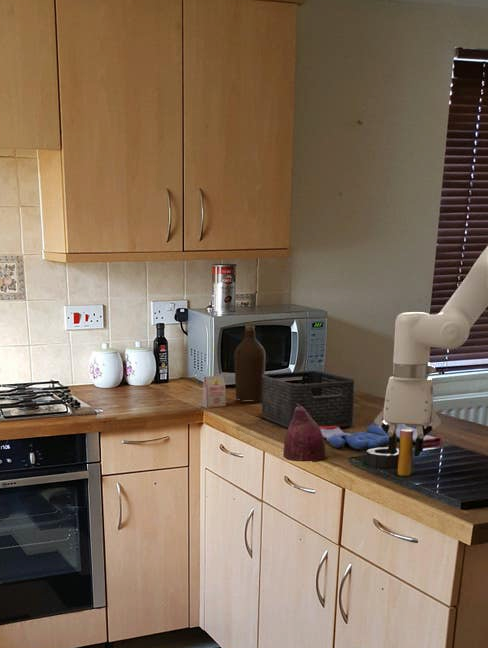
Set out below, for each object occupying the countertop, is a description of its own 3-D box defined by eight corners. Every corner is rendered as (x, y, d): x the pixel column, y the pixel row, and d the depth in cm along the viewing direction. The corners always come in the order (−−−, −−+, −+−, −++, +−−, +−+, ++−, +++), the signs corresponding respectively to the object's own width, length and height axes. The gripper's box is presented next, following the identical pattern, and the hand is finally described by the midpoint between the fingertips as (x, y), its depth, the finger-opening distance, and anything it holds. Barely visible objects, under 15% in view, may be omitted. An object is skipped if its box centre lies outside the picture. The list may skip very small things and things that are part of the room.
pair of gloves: (401, 427, 249) (402, 414, 247) (459, 443, 226) (460, 429, 225) (302, 438, 238) (302, 424, 237) (352, 456, 216) (353, 441, 214)
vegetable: (302, 476, 211) (297, 419, 203) (275, 463, 219) (269, 408, 211) (335, 459, 215) (331, 403, 207) (308, 447, 223) (303, 393, 215)
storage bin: (258, 416, 271) (258, 372, 267) (316, 412, 276) (317, 369, 271) (294, 432, 245) (295, 384, 241) (357, 427, 250) (359, 380, 245)
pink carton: (202, 406, 293) (202, 376, 289) (221, 404, 294) (221, 374, 291) (206, 408, 289) (206, 377, 286) (225, 406, 291) (225, 376, 288)
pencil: (411, 473, 198) (414, 429, 194) (409, 476, 195) (412, 431, 192) (398, 472, 199) (401, 428, 195) (396, 475, 196) (399, 431, 193)
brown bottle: (260, 404, 293) (261, 327, 285) (230, 403, 297) (230, 327, 289) (268, 399, 302) (269, 324, 294) (239, 398, 306) (239, 324, 298)
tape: (407, 461, 209) (408, 448, 208) (400, 469, 202) (401, 456, 201) (370, 458, 213) (371, 446, 212) (362, 466, 205) (363, 454, 204)
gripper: (453, 370, 189) (446, 453, 195) (375, 368, 196) (371, 448, 202) (448, 375, 183) (441, 460, 189) (367, 372, 190) (363, 455, 196)
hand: (405, 453), depth 195 cm, fingers open, 4 cm apart
